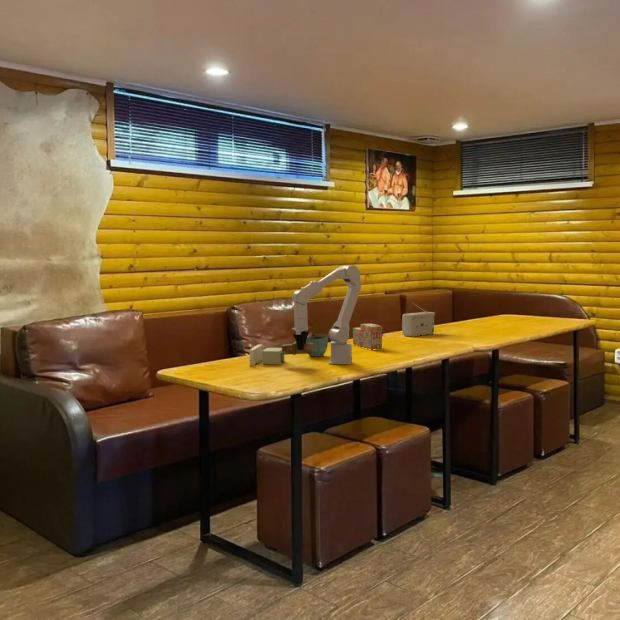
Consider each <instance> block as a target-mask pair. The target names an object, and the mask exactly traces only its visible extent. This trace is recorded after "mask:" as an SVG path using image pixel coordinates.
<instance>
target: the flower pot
mask: <svg viewBox="0 0 620 620" xmlns="http://www.w3.org/2000/svg"><path fill="white" fill-rule="evenodd" d="M306 343H313V351H314V352H313V353H312V354H307V355H308V356H309V357H311V356H312V357H313V356H315V357H316V358H319V356H320V357H324V356H325V354H326V352H327V350H328V344H329V336H314V335H313V336H307V339H306Z"/></svg>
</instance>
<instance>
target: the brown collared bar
mask: <svg viewBox="0 0 620 620" xmlns="http://www.w3.org/2000/svg"><path fill="white" fill-rule="evenodd" d="M281 348H282V355H284V356H285V355H292V356H296V355H306V354H307V355H308V354H312V353H313V352H314V351H313V343H304V347H303V350H298V348H297V343H296V341H294V342H293V343H287V344H282V345H281Z"/></svg>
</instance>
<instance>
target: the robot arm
mask: <svg viewBox="0 0 620 620" xmlns="http://www.w3.org/2000/svg"><path fill="white" fill-rule="evenodd" d="M361 275H362V272H361V271H360V269H359V267H358V266H357V265H353V264H352V265H347V264H343V265H341V266H340V267H337V268H336V269H334V270H332V271H331V272H329V273H328V274H327V275H325V276H324V277H323V278H322V279H320V280H318V281H317V280H311V281H309V282H308V283H309V284H307V285H305V286H302V287H301V288H300V289H299V290H295V291H294V292H293V294H292V297H291V300H292V301H293V303H294V305H293V308H294V309H293V312H294V313H293V314H294V316H293V317H294V318H293V319H294V322H293V323H294V327H292V328H291V331H292V330H293V331H295V333H294V332H293V335H292V336H293V337H294V339H295V342H296V343H297V348H298V350H303V347H304V343H306V339H307V338H308V337H309V334H310V331H308V330H309V327H308V303H309V301H310V300H311V299H312V298H314V297H316V296H317V295H319V294H320V293H322V292H323V288H324V287H326V286H328V285H330V284H332V283H333V282H335V281H336V280H343V281H344V282H345V285H346V286H347V291H346V294H345V297H344V300H343V303H342V305H341V309H340V311H339V314H338V317H337V320H336V321H335V322H334V323H333V325H332V327H331V328H330V329H329V331H328V339H329V340H330V361H329V363H328V364H329V365H351V364H352V362H353V354H352V353H353V352H352V350H353V348H352V345H353V344H352V343H348V341H349V339H350V333H349V332H350V329H351V328H350V325H349V324H350V321H351V318H352V316H353V313H354V309H355V307H356V304H357V301H358V298H359V295H360V292H361V289H362V281H361Z"/></svg>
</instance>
